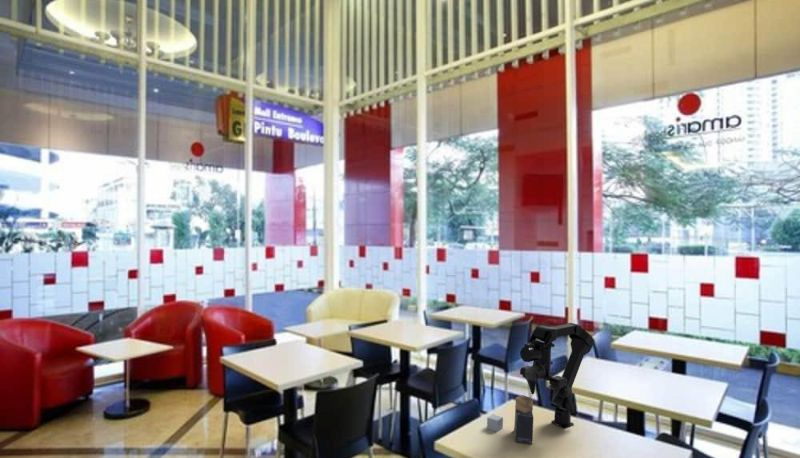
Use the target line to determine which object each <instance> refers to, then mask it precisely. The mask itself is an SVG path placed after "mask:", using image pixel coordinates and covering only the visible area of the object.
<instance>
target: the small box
mask: <svg viewBox="0 0 800 458" xmlns="http://www.w3.org/2000/svg"><path fill="white" fill-rule="evenodd" d="M515 406H516V404H515ZM514 409H515V408H514ZM514 413H515V414H514V427H513V432H514V441H515V442H514V443H522V444H527V445H533V438H534V437H533V435H534V433H533V432H534V414H533V411H530V412H527V413H523V412H521V411H519V410H516V409H515V410H514Z"/></svg>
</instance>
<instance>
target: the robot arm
mask: <svg viewBox="0 0 800 458" xmlns="http://www.w3.org/2000/svg"><path fill="white" fill-rule="evenodd" d="M567 336H568V338H569V339H570V348H571V352H570V355H569V357H568V360H567V362H566V364H565V368H564V369H563V373H562V375H561V376H560V375H556V376H552V375H553V373H554V371H551V365H553V363H554V362H553V361H552V348H553V347H556V346H555V344H554V343H553V342H556V340H557V338H561V337H567ZM594 345H595V341H594V338H593V336H592V335H591V334H590V333H589V332H588V331H586V330H585V329H584V328H583V327H582V326H581V325H580V324H578V323H575V322H574V323H573V322H568V323H566V324H561V325H560V324H559V325H554V326H547V325H546V326H545V325H537V326H535V328H534V330H533V332H532V333H531V336H530V337H529V339H528V341H527V343H524V346H523V347H521V349H520V352H519V355H520V359H522V361H523V362H524V363H529V362H530V363H531V362H532V365H525V366H522V367H521V368H520V369H519V375H520V376H522V377H523V378H524V379H525V380H526V381H527V383H528V387H529V389H530V394H531V395H535V391H536V386H537V385H536V384H537V381H538V380H542V379H543V380H545V381H548V382H549V385H548V387H549V389H550V391H549V395H548V398H549V402H550V406H551V407H553V408H554V419H552V420H551V423H552V424H554V425H556V426H559V427H561V428H562V429H566V428H569V427H572V426H574V422H571V421H572V420H571V417H572V415H571V414H574V412H576V409H577V405H576V404H575V402H574V401H573V397H574V395H573V390H572V388H573V386H574V382H575V380H576V378H577V375H578V372H579V369H580V367H581V364H582V363H583V359H584V357H585V356H586V355H588V354H589V353H590V351H591V350H592V348H593V346H594Z"/></svg>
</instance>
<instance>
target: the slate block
mask: <svg viewBox="0 0 800 458" xmlns="http://www.w3.org/2000/svg"><path fill="white" fill-rule="evenodd" d="M486 420H487V421H486V424H487V425H486V429H487V430H490V431H493V432H496V433H498V432H500V431H501V430H503V427H504V417H503V416H500V415H497V414H494V413H492V414H490V415H489V416H487V418H486Z"/></svg>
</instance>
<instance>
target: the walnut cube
mask: <svg viewBox="0 0 800 458" xmlns="http://www.w3.org/2000/svg"><path fill="white" fill-rule="evenodd" d="M515 405H516V406H515V407H514V409H516V410H519V411H521V412H523V413H527V412H530V411H532V412H533V409H534V408H533V405H534V399H533V398H531V397H528V395H527V396H526V395H524V394H523V395H518V396H517V397H515Z"/></svg>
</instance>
